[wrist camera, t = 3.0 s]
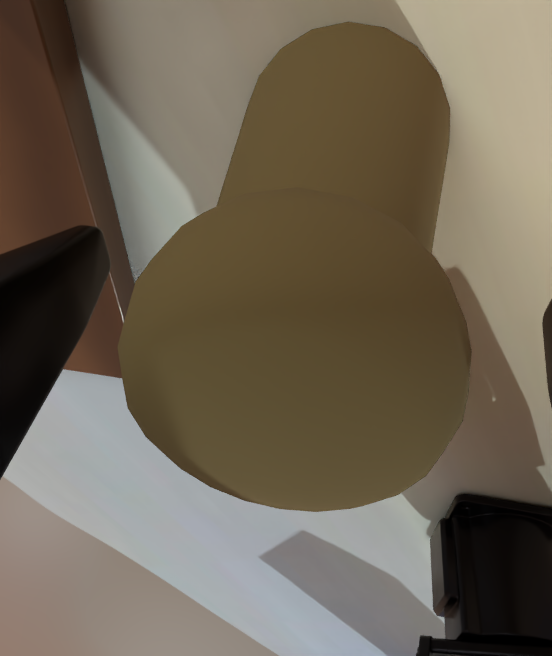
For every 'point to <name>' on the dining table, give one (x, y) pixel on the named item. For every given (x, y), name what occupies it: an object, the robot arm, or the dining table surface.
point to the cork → (311, 290)
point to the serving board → (57, 163)
